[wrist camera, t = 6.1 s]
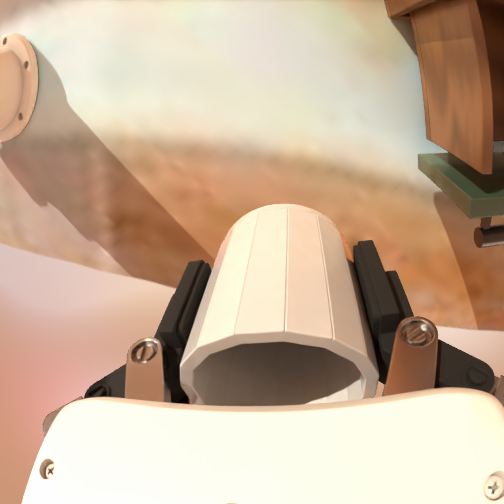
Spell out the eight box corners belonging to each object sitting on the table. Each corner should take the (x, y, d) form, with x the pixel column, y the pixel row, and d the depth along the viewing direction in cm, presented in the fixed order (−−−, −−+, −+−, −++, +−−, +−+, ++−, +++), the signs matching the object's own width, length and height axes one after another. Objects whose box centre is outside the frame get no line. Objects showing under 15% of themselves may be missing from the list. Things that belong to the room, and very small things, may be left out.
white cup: (237, 313, 15) (214, 431, 10) (205, 214, 12) (146, 335, 7) (350, 302, 14) (368, 425, 9) (345, 194, 11) (389, 318, 6)
